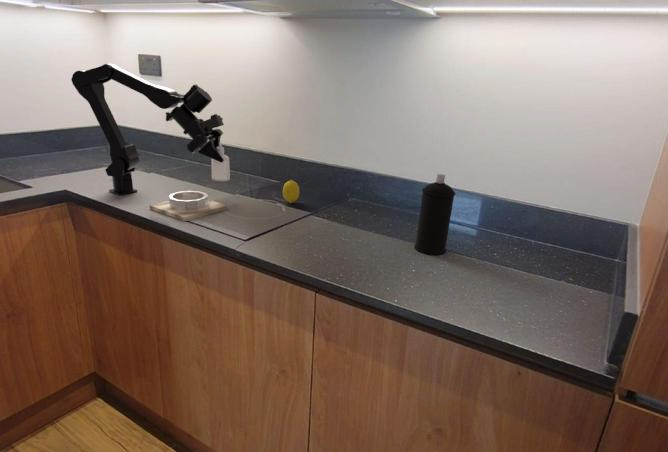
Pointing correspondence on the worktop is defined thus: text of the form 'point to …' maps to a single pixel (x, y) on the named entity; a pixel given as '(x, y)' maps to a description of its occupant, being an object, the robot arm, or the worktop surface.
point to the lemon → (291, 191)
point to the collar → (188, 200)
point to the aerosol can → (434, 217)
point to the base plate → (188, 215)
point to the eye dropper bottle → (220, 166)
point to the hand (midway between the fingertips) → (224, 160)
